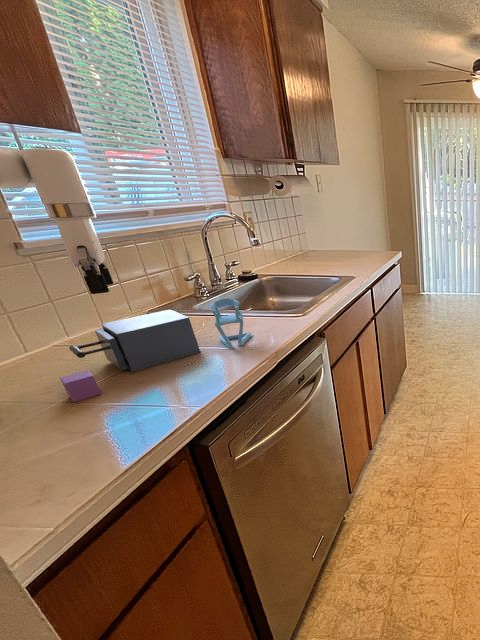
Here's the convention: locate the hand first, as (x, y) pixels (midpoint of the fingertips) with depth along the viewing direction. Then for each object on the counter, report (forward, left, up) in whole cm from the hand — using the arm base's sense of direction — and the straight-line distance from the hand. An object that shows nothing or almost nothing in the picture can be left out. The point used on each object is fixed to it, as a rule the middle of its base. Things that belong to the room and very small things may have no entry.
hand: (103, 288), depth 94 cm
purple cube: (-12, -16, -18) cm, 27 cm away
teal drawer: (0, -4, -17) cm, 18 cm away
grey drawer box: (+5, -4, -18) cm, 19 cm away
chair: (+21, -11, -18) cm, 30 cm away
